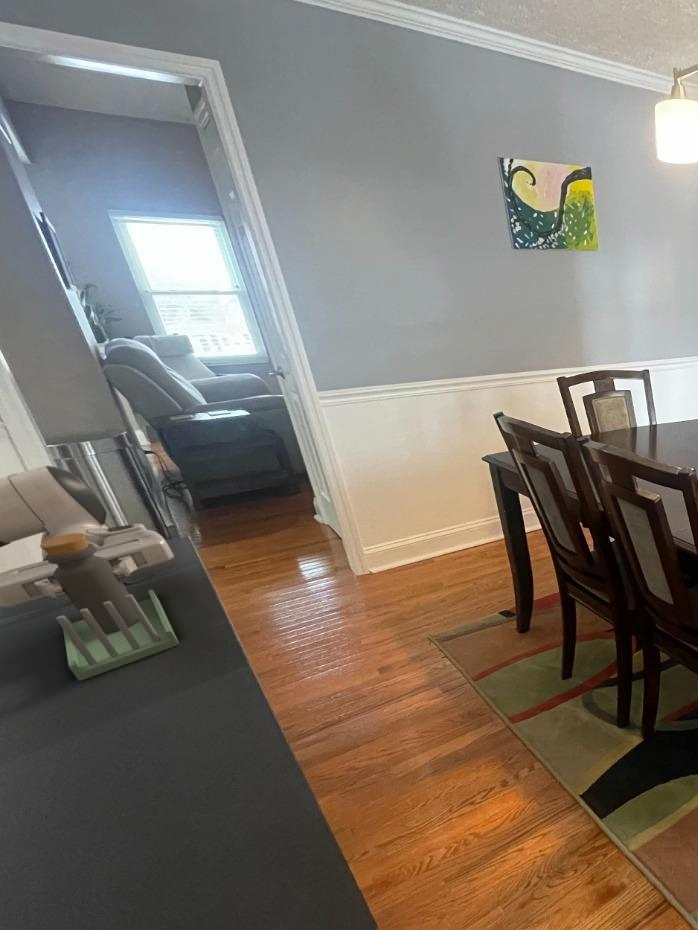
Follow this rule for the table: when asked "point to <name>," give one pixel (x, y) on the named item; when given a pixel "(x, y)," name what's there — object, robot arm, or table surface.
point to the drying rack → (116, 638)
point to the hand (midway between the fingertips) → (90, 582)
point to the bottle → (88, 580)
